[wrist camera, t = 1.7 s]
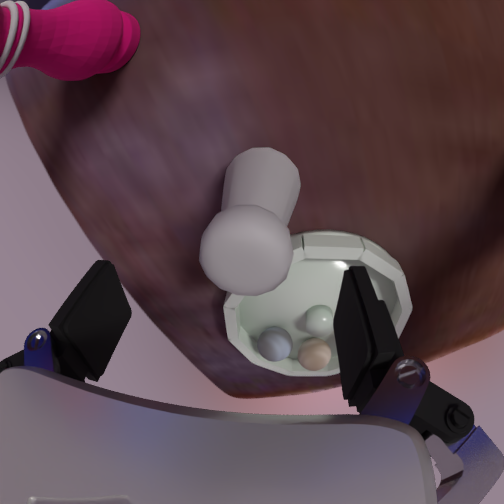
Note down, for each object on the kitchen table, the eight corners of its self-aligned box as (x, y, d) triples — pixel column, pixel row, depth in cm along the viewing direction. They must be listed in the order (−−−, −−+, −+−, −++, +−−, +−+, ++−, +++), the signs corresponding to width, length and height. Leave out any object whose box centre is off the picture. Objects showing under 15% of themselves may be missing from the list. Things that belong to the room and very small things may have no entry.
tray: (423, 234, 23) (435, 250, 21) (375, 356, 34) (379, 373, 32) (221, 226, 26) (214, 243, 23) (236, 355, 37) (233, 372, 34)
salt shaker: (299, 142, 21) (318, 207, 10) (298, 206, 24) (307, 317, 13) (226, 143, 21) (165, 208, 10) (232, 206, 24) (190, 312, 14)
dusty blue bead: (299, 325, 29) (279, 344, 26) (299, 353, 31) (280, 373, 28) (269, 317, 32) (248, 333, 29) (271, 343, 33) (251, 361, 30)
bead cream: (331, 331, 31) (335, 354, 27) (326, 354, 33) (329, 377, 29) (298, 330, 31) (299, 354, 28) (295, 354, 33) (296, 377, 29)
